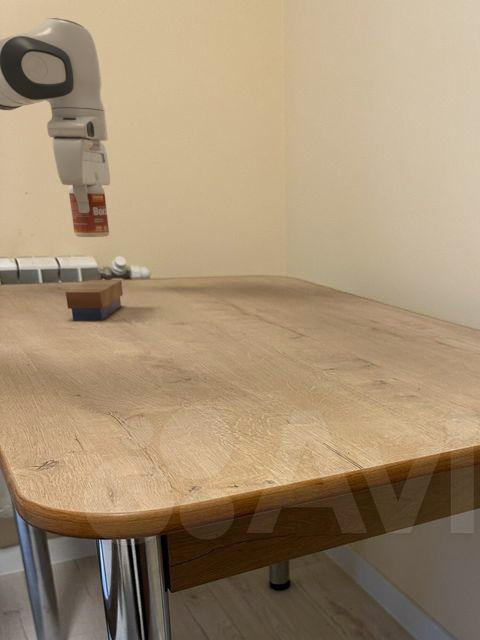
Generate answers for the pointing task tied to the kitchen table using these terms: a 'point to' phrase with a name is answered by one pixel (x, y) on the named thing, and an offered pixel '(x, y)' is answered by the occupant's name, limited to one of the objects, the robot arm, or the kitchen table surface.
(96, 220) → the pill bottle
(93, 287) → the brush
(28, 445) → the kitchen table surface
